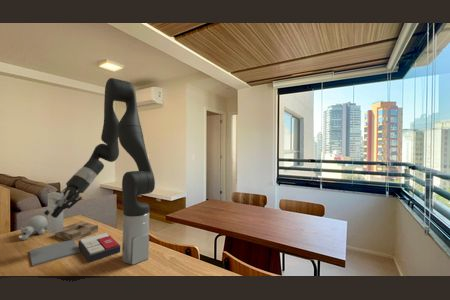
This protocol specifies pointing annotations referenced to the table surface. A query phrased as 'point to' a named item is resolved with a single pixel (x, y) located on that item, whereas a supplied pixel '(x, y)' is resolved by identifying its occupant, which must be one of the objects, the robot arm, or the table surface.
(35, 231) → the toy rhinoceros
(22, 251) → the table surface
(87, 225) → the block
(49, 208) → the t key
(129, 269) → the table surface
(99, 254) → the calculator
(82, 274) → the table surface
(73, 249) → the mat
